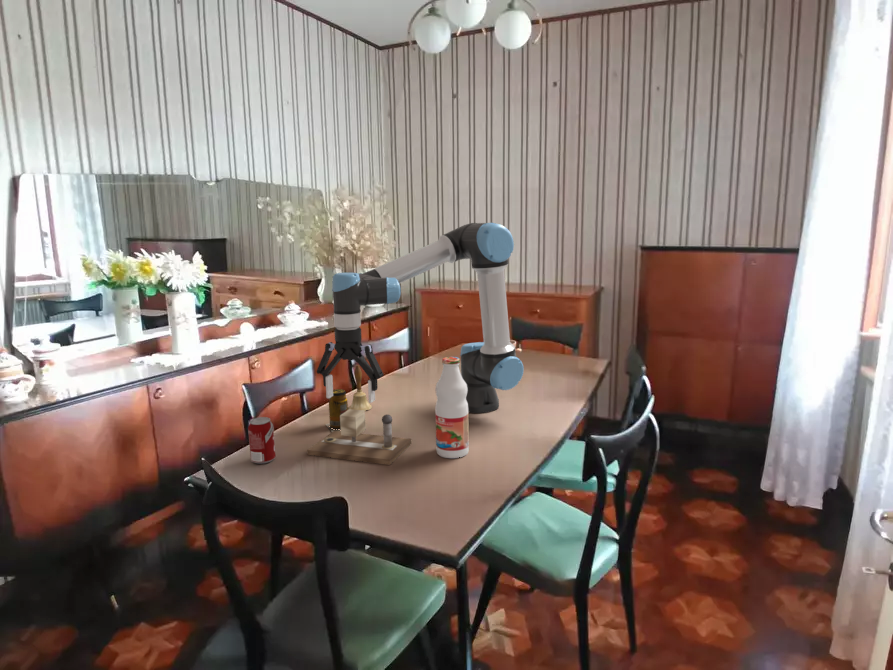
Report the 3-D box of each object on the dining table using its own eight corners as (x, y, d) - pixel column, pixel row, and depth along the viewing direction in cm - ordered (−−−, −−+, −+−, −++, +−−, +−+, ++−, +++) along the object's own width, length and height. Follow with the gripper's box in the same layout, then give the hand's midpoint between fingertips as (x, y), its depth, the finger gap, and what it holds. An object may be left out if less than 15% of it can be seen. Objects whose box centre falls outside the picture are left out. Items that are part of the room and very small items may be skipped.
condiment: (346, 421, 198) (344, 387, 195) (354, 429, 190) (352, 393, 188) (325, 424, 195) (323, 390, 192) (332, 433, 187) (329, 397, 185)
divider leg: (366, 438, 176) (364, 410, 174) (356, 446, 171) (355, 417, 169) (351, 436, 178) (349, 409, 176) (341, 444, 172) (339, 415, 170)
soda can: (262, 467, 163) (258, 426, 160) (245, 462, 166) (242, 421, 164) (280, 458, 168) (277, 418, 166) (264, 453, 172) (261, 414, 169)
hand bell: (367, 412, 206) (365, 368, 203) (345, 411, 208) (342, 367, 204) (375, 405, 214) (373, 362, 211) (353, 404, 216) (351, 361, 212)
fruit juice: (475, 452, 170) (474, 358, 164) (452, 462, 164) (450, 364, 158) (453, 443, 177) (451, 352, 171) (429, 452, 170) (427, 358, 165)
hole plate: (411, 443, 177) (410, 407, 175) (389, 465, 163) (388, 425, 160) (334, 435, 185) (332, 400, 183) (307, 454, 171) (304, 416, 168)
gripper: (393, 327, 167) (395, 399, 171) (316, 323, 175) (319, 391, 179) (382, 332, 160) (384, 407, 164) (302, 327, 168) (306, 399, 172)
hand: (350, 399), depth 171 cm, fingers open, 13 cm apart
